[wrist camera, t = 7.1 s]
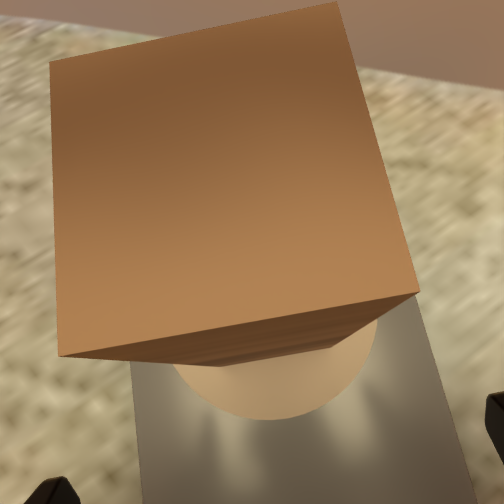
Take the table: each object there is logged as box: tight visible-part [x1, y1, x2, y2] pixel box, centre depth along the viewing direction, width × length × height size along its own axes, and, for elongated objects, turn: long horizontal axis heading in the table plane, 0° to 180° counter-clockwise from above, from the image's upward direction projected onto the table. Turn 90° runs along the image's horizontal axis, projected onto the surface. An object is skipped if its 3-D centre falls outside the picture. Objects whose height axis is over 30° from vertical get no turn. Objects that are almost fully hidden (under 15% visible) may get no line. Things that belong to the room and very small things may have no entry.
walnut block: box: [49, 2, 420, 367], centre depth 11 cm, size 4×4×12 cm
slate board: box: [130, 295, 478, 504], centre depth 17 cm, size 14×12×2 cm
